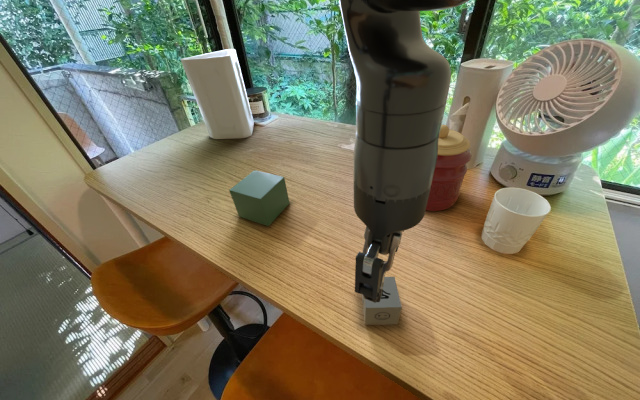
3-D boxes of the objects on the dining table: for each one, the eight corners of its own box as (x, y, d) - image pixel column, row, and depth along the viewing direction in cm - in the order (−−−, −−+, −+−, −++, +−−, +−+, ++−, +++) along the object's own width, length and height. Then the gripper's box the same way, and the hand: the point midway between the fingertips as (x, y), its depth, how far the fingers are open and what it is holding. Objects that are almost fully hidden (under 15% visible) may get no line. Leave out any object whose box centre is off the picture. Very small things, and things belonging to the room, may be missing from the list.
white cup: (517, 229, 51) (539, 189, 45) (532, 260, 45) (560, 218, 39) (473, 224, 53) (489, 185, 47) (482, 253, 47) (501, 213, 41)
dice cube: (364, 324, 39) (365, 307, 36) (361, 294, 43) (362, 277, 40) (398, 324, 38) (401, 307, 35) (391, 294, 42) (394, 276, 39)
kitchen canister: (433, 175, 68) (448, 109, 57) (470, 203, 58) (496, 130, 47) (390, 187, 66) (397, 120, 55) (420, 218, 56) (437, 145, 45)
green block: (268, 226, 58) (260, 199, 53) (239, 216, 62) (228, 190, 57) (289, 203, 64) (284, 176, 59) (261, 195, 68) (254, 169, 63)
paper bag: (227, 145, 95) (198, 61, 77) (209, 136, 103) (179, 59, 86) (268, 128, 104) (250, 50, 87) (248, 120, 113) (229, 48, 96)
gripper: (376, 138, 31) (371, 230, 41) (326, 208, 22) (335, 305, 32) (442, 146, 28) (419, 243, 38) (417, 232, 19) (395, 331, 29)
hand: (381, 271), depth 35 cm, fingers open, 8 cm apart
